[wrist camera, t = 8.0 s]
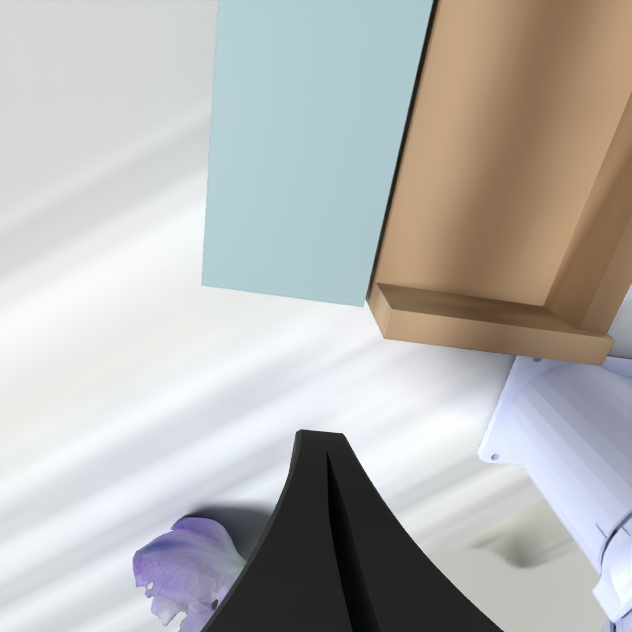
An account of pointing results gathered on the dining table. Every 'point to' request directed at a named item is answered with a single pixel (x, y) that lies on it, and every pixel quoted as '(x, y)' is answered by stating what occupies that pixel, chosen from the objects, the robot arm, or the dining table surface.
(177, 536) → the flower
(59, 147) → the dining table surface
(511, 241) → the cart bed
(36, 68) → the dining table surface
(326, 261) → the light blue panel
